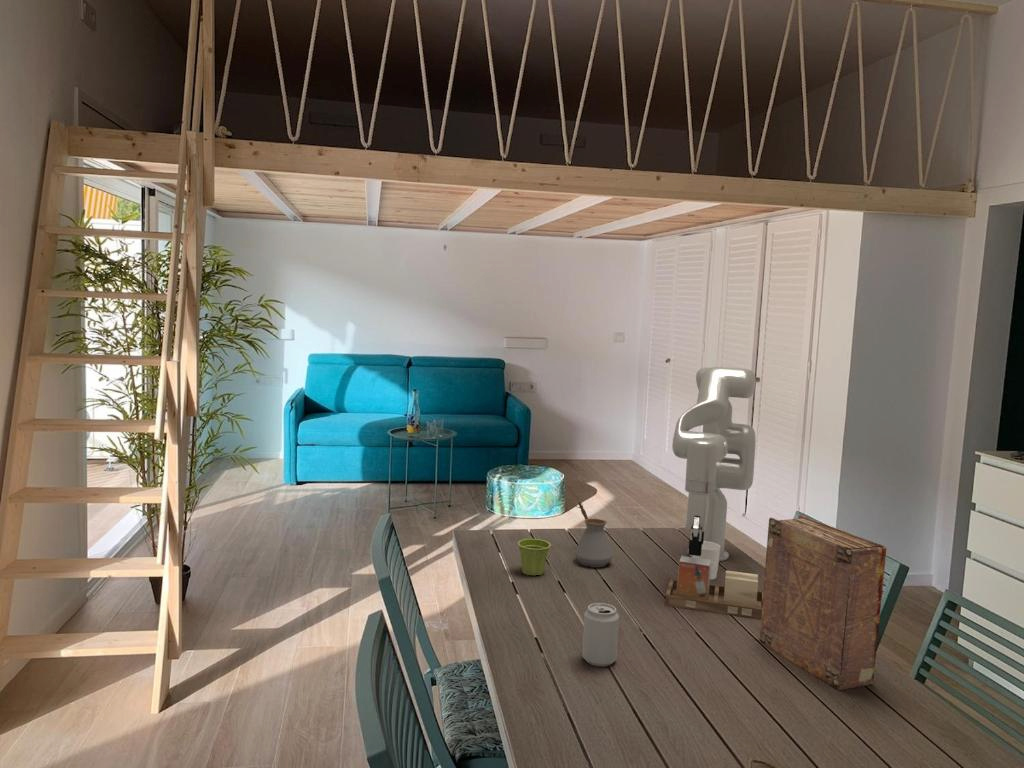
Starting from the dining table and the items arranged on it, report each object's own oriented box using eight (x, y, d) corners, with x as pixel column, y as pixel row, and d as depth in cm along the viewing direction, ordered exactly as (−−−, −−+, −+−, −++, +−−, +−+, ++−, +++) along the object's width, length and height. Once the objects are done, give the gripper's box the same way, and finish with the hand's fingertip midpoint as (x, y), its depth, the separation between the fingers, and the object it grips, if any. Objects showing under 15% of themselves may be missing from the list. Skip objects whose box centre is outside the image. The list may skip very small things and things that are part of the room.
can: (594, 670, 170) (597, 616, 168) (575, 656, 176) (578, 603, 175) (623, 664, 173) (626, 611, 172) (603, 650, 180) (606, 599, 178)
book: (758, 641, 188) (768, 516, 185) (790, 636, 192) (799, 514, 189) (839, 691, 165) (852, 550, 162) (873, 685, 168) (886, 546, 165)
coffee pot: (618, 568, 236) (621, 519, 235) (581, 570, 233) (583, 520, 232) (593, 546, 257) (595, 500, 255) (559, 548, 254) (561, 501, 252)
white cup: (715, 575, 234) (718, 541, 233) (720, 584, 226) (722, 550, 225) (688, 573, 235) (690, 540, 234) (691, 582, 227) (693, 548, 226)
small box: (675, 600, 210) (678, 561, 209) (678, 593, 215) (681, 554, 214) (706, 605, 207) (709, 565, 206) (709, 597, 213) (711, 559, 212)
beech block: (723, 599, 212) (726, 570, 211) (755, 604, 209) (757, 574, 209) (723, 607, 206) (725, 577, 205) (755, 612, 204) (758, 582, 203)
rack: (669, 590, 219) (670, 578, 219) (764, 604, 213) (765, 591, 212) (664, 609, 206) (665, 596, 206) (766, 623, 199) (767, 610, 199)
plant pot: (555, 572, 231) (556, 543, 230) (538, 581, 223) (540, 550, 222) (527, 565, 236) (528, 536, 235) (510, 573, 228) (511, 544, 227)
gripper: (687, 476, 217) (684, 537, 219) (682, 492, 201) (678, 558, 203) (716, 479, 215) (712, 540, 217) (713, 495, 199) (708, 561, 201)
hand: (695, 549), depth 210 cm, fingers open, 9 cm apart
